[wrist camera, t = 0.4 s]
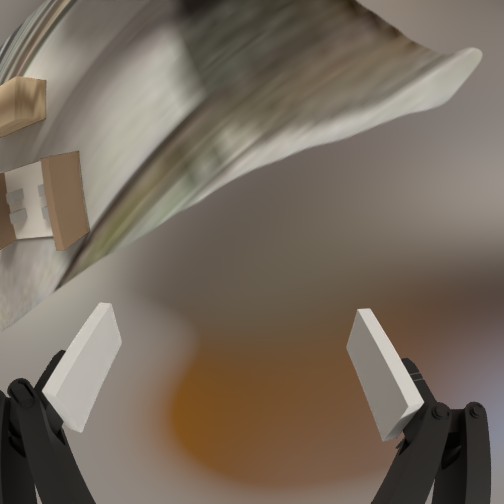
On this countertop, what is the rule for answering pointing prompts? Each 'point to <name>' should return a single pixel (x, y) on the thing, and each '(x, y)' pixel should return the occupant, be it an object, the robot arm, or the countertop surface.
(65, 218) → the peg stand
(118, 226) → the countertop surface
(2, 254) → the countertop surface
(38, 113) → the shelf block
